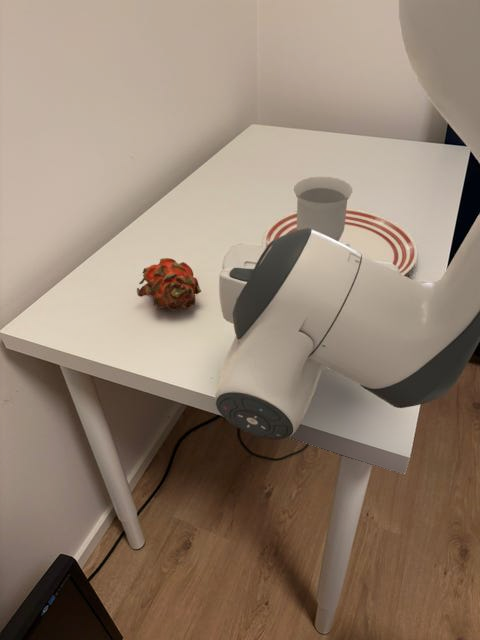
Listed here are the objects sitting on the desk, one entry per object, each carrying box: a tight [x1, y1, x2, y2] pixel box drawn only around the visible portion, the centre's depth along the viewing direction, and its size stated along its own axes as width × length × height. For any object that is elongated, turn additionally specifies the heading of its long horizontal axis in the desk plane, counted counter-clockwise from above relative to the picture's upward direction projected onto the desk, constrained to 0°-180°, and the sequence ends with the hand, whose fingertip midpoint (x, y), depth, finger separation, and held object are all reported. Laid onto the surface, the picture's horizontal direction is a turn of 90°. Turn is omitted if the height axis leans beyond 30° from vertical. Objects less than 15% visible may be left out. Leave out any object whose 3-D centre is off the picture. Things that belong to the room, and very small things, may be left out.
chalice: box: [293, 176, 353, 242], centre depth 62 cm, size 7×7×18 cm
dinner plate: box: [261, 207, 419, 276], centre depth 88 cm, size 27×27×3 cm
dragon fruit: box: [136, 257, 202, 311], centre depth 78 cm, size 8×8×12 cm
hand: (319, 245), depth 62 cm, fingers closed on chalice, 5 cm apart
